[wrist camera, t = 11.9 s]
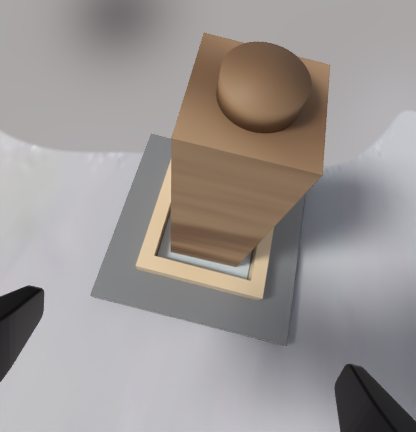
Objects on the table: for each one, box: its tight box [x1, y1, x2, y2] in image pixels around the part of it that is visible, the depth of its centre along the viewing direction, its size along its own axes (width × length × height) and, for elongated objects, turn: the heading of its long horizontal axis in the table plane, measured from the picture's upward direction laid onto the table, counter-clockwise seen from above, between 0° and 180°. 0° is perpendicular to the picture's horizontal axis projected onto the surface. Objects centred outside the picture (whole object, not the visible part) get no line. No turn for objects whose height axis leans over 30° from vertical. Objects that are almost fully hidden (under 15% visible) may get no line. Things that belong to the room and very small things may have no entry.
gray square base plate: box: [90, 134, 305, 346], centre depth 24 cm, size 14×14×2 cm
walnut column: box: [171, 33, 330, 267], centre depth 17 cm, size 5×5×15 cm
